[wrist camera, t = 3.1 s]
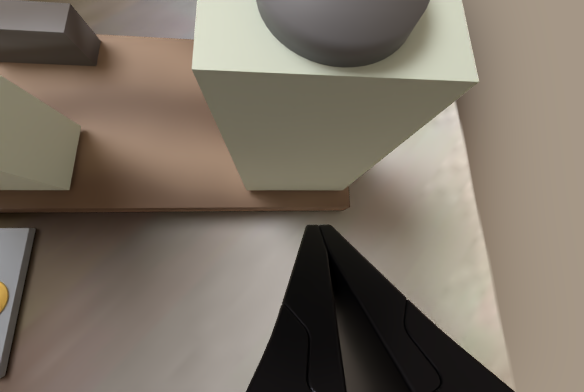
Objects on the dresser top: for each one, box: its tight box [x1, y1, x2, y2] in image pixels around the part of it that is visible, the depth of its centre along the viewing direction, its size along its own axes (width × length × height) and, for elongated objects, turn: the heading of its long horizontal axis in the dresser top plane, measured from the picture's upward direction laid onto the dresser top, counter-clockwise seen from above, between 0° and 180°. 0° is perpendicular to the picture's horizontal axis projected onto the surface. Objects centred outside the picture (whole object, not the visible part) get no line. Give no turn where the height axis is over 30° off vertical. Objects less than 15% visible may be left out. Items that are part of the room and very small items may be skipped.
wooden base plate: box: [0, 0, 350, 213], centre depth 15 cm, size 12×23×4 cm, turn 91°
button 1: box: [192, 0, 479, 190], centre depth 10 cm, size 4×6×11 cm, turn 92°
